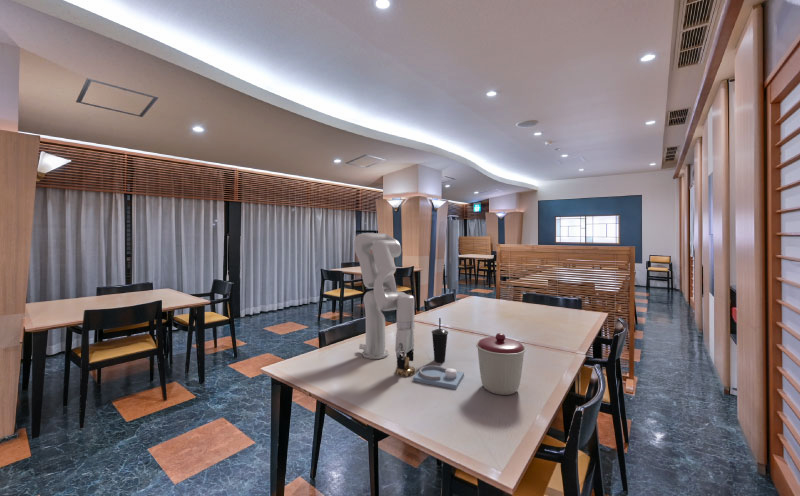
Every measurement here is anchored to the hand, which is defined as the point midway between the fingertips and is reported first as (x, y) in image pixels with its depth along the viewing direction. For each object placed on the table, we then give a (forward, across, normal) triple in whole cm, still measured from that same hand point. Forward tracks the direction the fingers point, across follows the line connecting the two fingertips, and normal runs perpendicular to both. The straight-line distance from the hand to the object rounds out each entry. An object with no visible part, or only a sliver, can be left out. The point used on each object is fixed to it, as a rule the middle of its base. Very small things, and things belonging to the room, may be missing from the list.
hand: (405, 364), depth 138 cm
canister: (+4, 0, +38) cm, 39 cm away
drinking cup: (+4, -18, +10) cm, 21 cm away
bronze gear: (+3, 0, 0) cm, 3 cm away
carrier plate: (+3, 0, +15) cm, 15 cm away
